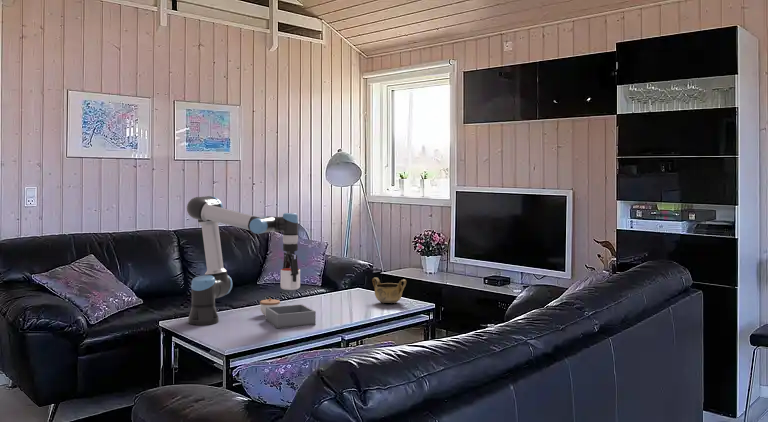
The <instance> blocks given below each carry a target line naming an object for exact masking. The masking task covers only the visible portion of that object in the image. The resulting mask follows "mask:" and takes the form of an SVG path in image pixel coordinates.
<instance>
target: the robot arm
mask: <svg viewBox="0 0 768 422" xmlns="http://www.w3.org/2000/svg"><path fill="white" fill-rule="evenodd" d="M186 212H187V214H188V215H189V217H191V218H192V219H194V220H197V223H198V224H199V225H200V226H201V231H202V240H203V248H204V249H203V250H204V256H205V263H206V264H205V265H206V272H205V273H204V274H203V275H199V276H195V277H193V279H192V280H191V285H190V289H191V309H190V312H189V315H188V319H187V323H188V324H189V323H190V324H189V325H192V324H196V325H195V326H208V325H214V324H217V323H218V322H219V321H220V319H219V314H218V312H217V308H216V299H219V298H222V297H225V296H226V295H228V294H230V293H231V290H232V289H233V280H232V277H230V275H228V270H227V269H226V268H224V260H223V259H224V258H223V253H222V252H223V251H222V245H221V244H222V243H221V237H220V228H219V223H220V224H223V225H228V226H232V227H236V228H238V229H244V230H247V231H251V233H253V234H256V235H257V234H258V235H259V234H264V233H271V232H282V243H283V244H282V251H284V252H283V264H282V269H284V268H291V272H292V274H291V288H297V274H298V269H299V266H298V265H299V264H298V254H296V252H297V251H298V250H299V244H298V242H299V234H298V231H299V229H298V227H299V225H298V224H299V219H298V213H295V212H284V213H283V214H282V216H271V215H269V216H268V215H265V216H262V217H260V216H255V215H251V214H247V213H243V212H239V211H235V210H232V209H228V208H224V206H223V203H222V201H221V200H220V199H219V198H218V197H215V196H210V195H208V196H207V195H206V196H196V197H193V198H191V199H190V200H188V202H187V205H186Z"/></svg>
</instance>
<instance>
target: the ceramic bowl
mask: <svg viewBox="0 0 768 422" xmlns="http://www.w3.org/2000/svg"><path fill="white" fill-rule="evenodd" d="M371 282H372V286H373V288H374V296H375V298H376V299H377V301H379V302H381V304H384V303H394V304H395V303H398V302H399V301H400V300H401V298H402V296H403V291H404V290H405V287H406V285H407V280H406V279H404V278H403V279H401V280H399V282H398V283H393V282H384V283H381V280H380V279H379V277H373V278H372V279H371ZM402 282H403V284H402Z"/></svg>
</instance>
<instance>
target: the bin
mask: <svg viewBox="0 0 768 422" xmlns="http://www.w3.org/2000/svg"><path fill="white" fill-rule="evenodd" d="M265 321H266V322H267V323H268V324H270V325H272V326H273V327H274V328H276V329H280V330H281V329H288V328H289V329H290V328H298V327H299V328H300V327H307V326H316V321H317V320H316V310H314V309H312V308H310V307H309V306H306V305H304V304H303V303H302V304H301V303H300V304H291V305H290V304H289V305H280V306H276V307H266V316H265Z"/></svg>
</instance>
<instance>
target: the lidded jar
mask: <svg viewBox="0 0 768 422" xmlns="http://www.w3.org/2000/svg"><path fill="white" fill-rule="evenodd" d="M259 301H260V302H259V305H260V311H261V313H262V314H263V315H264V316H265V317H266V307H276V306H281V301H280V300H279V299H272V298H271V297H269V298H268V299H261V300H259Z"/></svg>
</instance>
